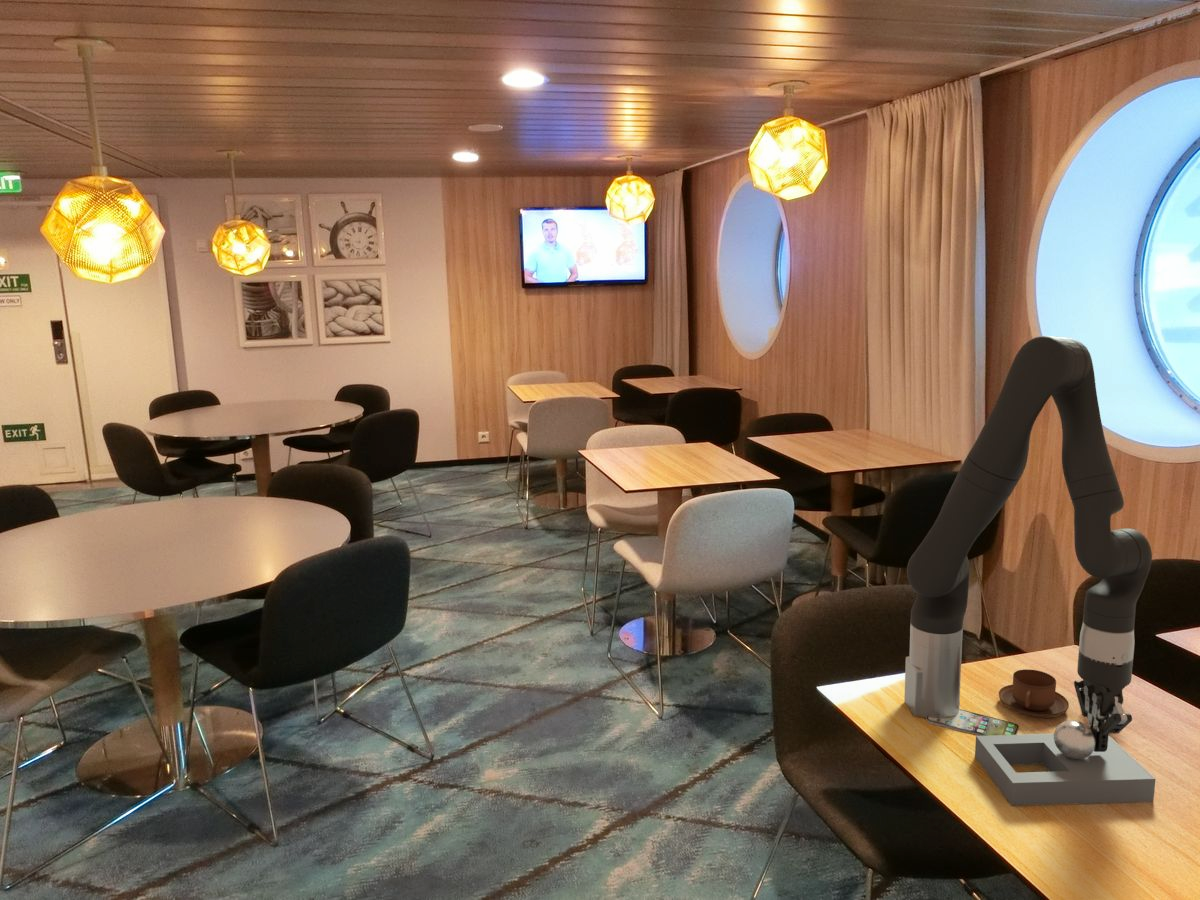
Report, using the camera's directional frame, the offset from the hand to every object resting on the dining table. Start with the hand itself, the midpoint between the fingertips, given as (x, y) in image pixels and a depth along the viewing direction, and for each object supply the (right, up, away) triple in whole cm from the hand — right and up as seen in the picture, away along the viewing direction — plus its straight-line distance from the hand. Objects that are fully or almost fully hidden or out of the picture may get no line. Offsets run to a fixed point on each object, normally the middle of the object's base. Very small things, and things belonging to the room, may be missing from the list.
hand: (1097, 749), depth 140 cm
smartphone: (-12, -3, +19) cm, 23 cm away
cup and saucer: (+1, -1, +24) cm, 24 cm away
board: (-6, -5, +1) cm, 8 cm away
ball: (-4, +2, -1) cm, 5 cm away
